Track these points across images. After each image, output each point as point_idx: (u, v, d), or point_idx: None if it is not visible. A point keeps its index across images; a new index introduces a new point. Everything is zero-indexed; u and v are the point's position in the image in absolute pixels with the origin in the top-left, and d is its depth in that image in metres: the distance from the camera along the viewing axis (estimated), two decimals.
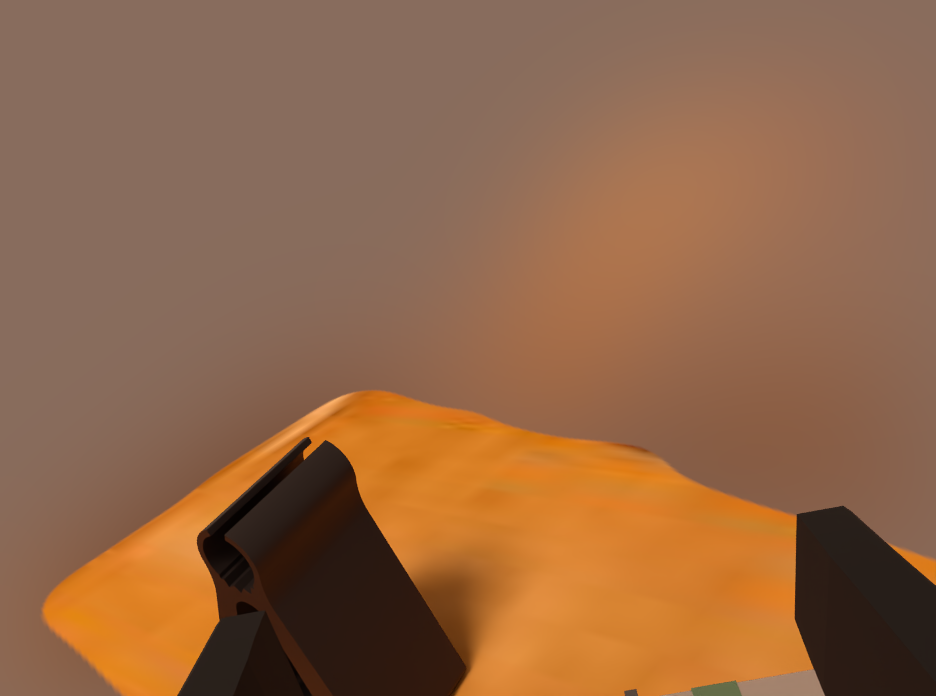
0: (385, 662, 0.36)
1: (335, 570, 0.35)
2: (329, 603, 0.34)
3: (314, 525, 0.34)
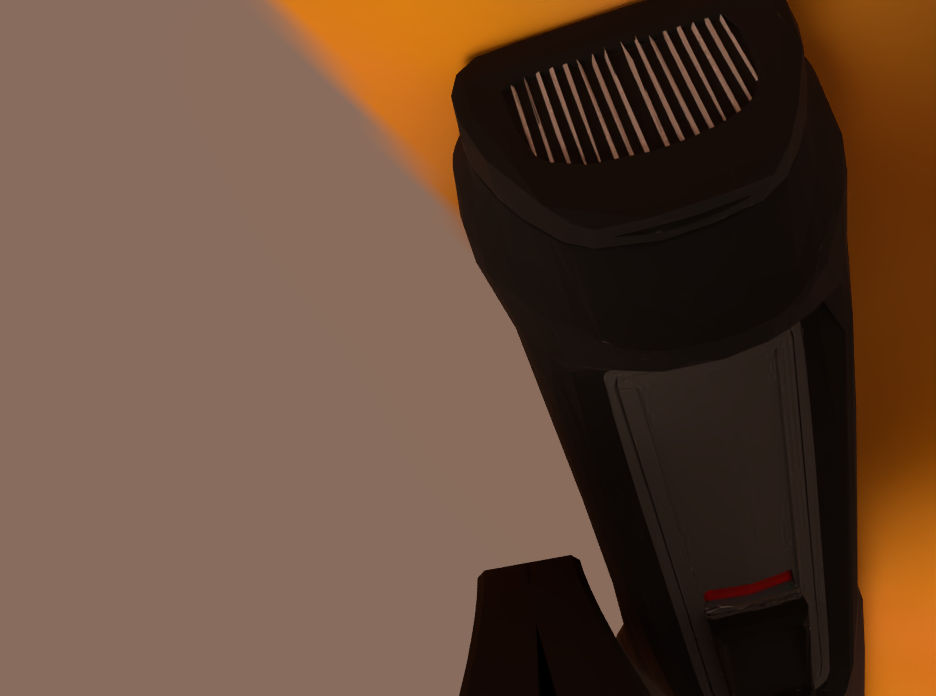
0: None
1: None
2: None
3: None
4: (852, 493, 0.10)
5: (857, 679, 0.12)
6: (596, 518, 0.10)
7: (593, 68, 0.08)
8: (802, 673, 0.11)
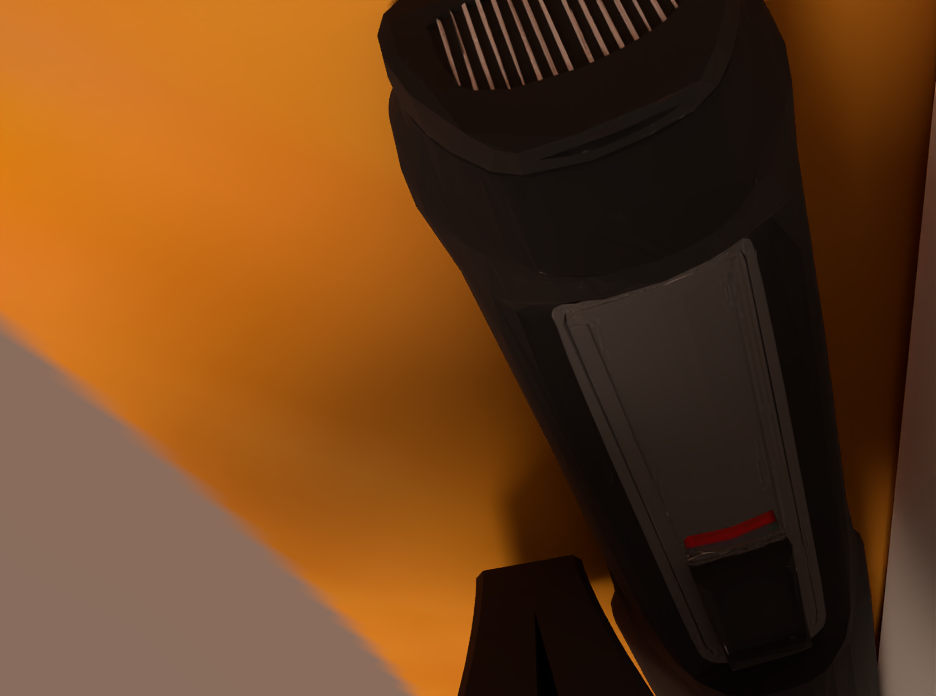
0: None
1: None
2: None
3: None
4: (830, 425, 0.09)
5: (861, 626, 0.12)
6: (564, 467, 0.09)
7: None
8: (795, 619, 0.10)
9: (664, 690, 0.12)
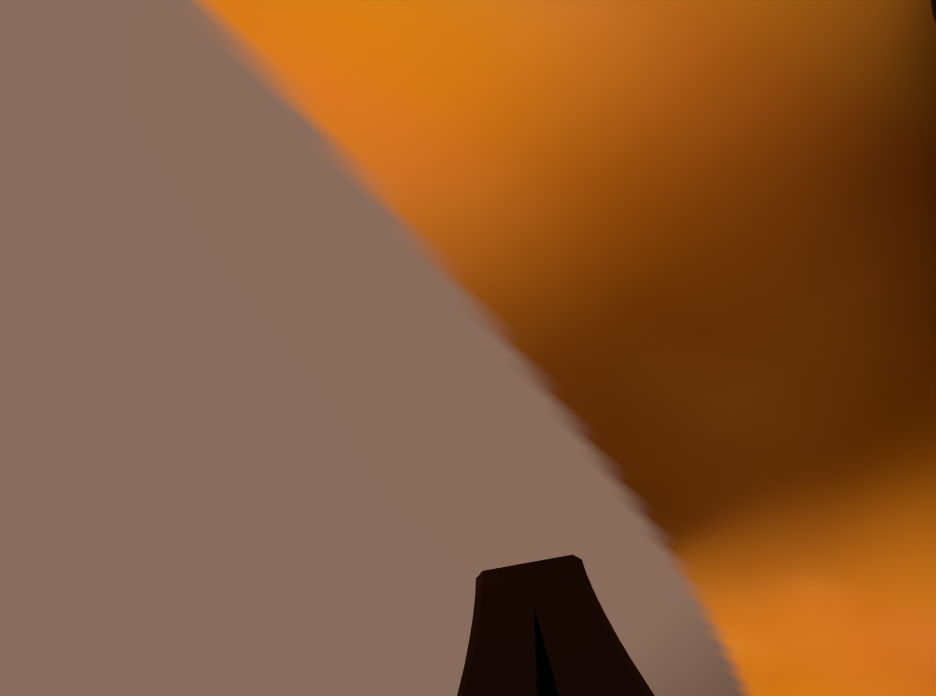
0: None
1: None
2: None
3: None
4: None
5: None
6: None
7: None
8: None
9: None
